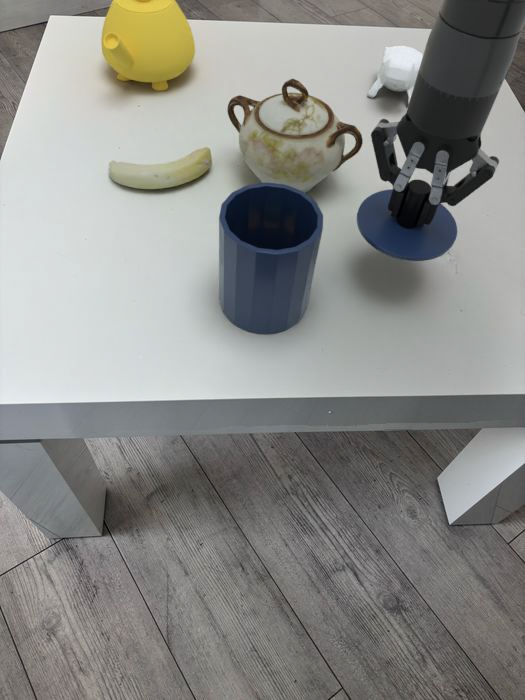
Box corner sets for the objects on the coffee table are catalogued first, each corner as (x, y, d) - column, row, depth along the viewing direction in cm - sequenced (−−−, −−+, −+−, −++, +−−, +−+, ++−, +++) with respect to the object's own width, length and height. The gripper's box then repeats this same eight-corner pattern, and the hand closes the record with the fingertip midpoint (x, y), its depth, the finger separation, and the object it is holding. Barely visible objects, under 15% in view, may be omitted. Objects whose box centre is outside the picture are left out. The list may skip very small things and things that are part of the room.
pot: (320, 288, 69) (339, 205, 58) (282, 348, 64) (295, 268, 53) (246, 256, 72) (250, 170, 61) (203, 311, 66) (200, 227, 55)
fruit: (217, 190, 79) (217, 170, 76) (111, 198, 77) (107, 178, 74) (210, 159, 83) (210, 140, 80) (109, 166, 81) (105, 146, 78)
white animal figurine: (371, 90, 103) (363, 101, 90) (385, 40, 98) (378, 43, 86) (416, 101, 102) (414, 113, 89) (431, 50, 97) (431, 55, 84)
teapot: (160, 119, 88) (151, 30, 77) (75, 95, 90) (54, 5, 79) (209, 62, 99) (208, -23, 88) (133, 42, 101) (122, -44, 90)
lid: (465, 217, 67) (485, 175, 62) (437, 279, 60) (456, 238, 55) (376, 185, 69) (388, 142, 64) (340, 240, 63) (350, 198, 58)
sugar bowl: (206, 187, 79) (203, 88, 67) (246, 133, 87) (250, 36, 75) (333, 228, 76) (355, 132, 64) (363, 168, 84) (387, 73, 72)
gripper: (375, 67, 49) (341, 215, 63) (529, 115, 46) (457, 260, 60) (403, 33, 53) (365, 180, 67) (546, 76, 50) (474, 220, 64)
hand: (409, 217), depth 64 cm, fingers closed on lid, 2 cm apart
